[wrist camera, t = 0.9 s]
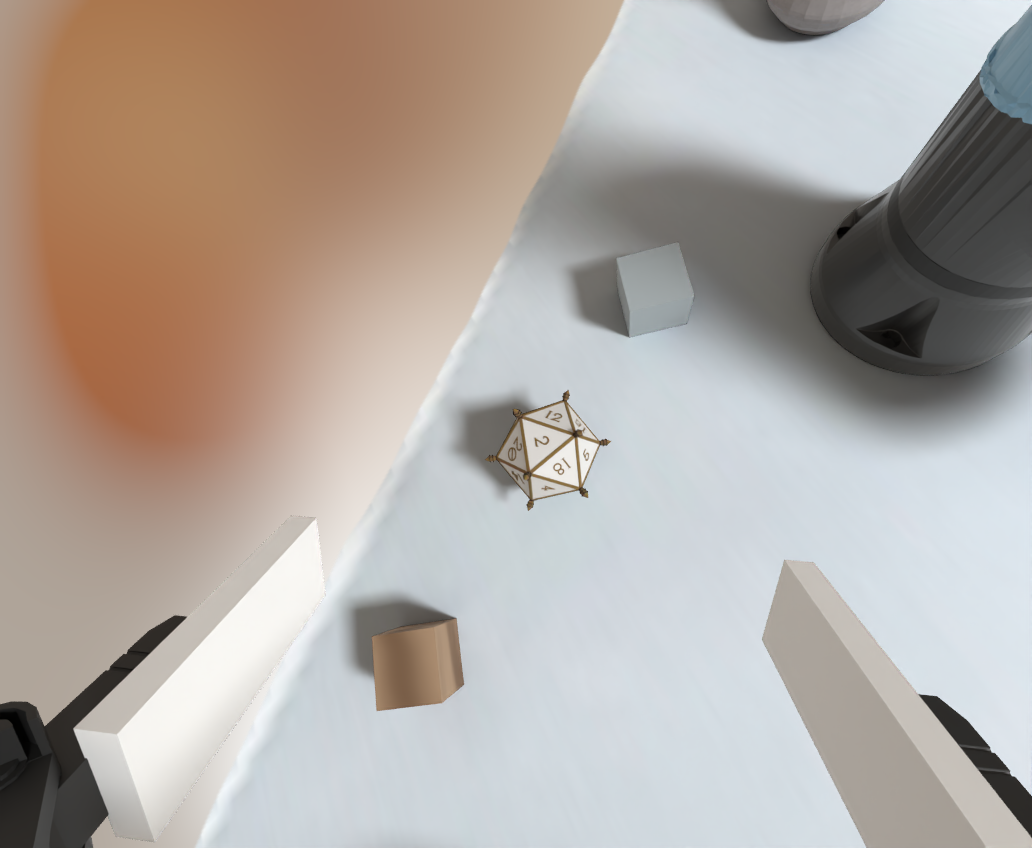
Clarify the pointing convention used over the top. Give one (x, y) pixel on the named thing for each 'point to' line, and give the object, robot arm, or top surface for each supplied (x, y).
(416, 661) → the walnut block
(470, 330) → the top surface
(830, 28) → the coffee pot
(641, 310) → the light grey cube
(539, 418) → the game die
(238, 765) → the top surface
